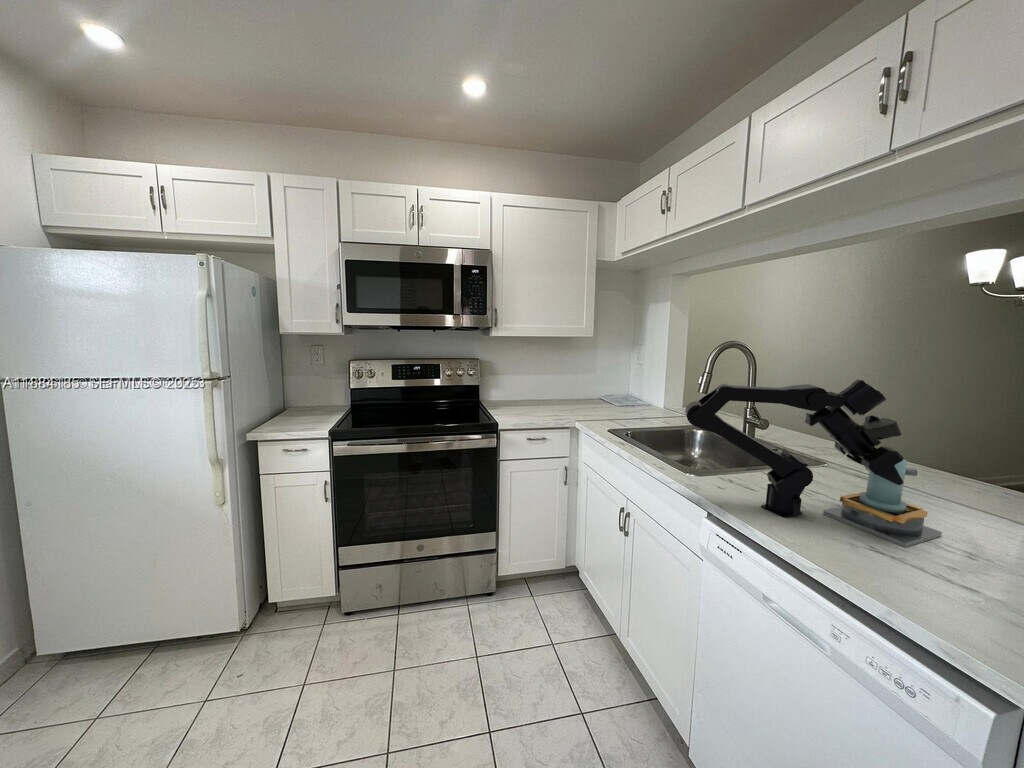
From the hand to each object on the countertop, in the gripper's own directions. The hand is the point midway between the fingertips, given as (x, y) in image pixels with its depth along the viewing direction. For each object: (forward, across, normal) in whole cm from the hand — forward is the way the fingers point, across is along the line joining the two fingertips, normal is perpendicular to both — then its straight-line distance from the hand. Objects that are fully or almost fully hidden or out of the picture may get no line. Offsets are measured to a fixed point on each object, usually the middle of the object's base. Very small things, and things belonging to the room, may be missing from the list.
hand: (893, 479), depth 91 cm
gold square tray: (+7, 0, +9) cm, 12 cm away
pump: (+4, 0, +6) cm, 7 cm away
